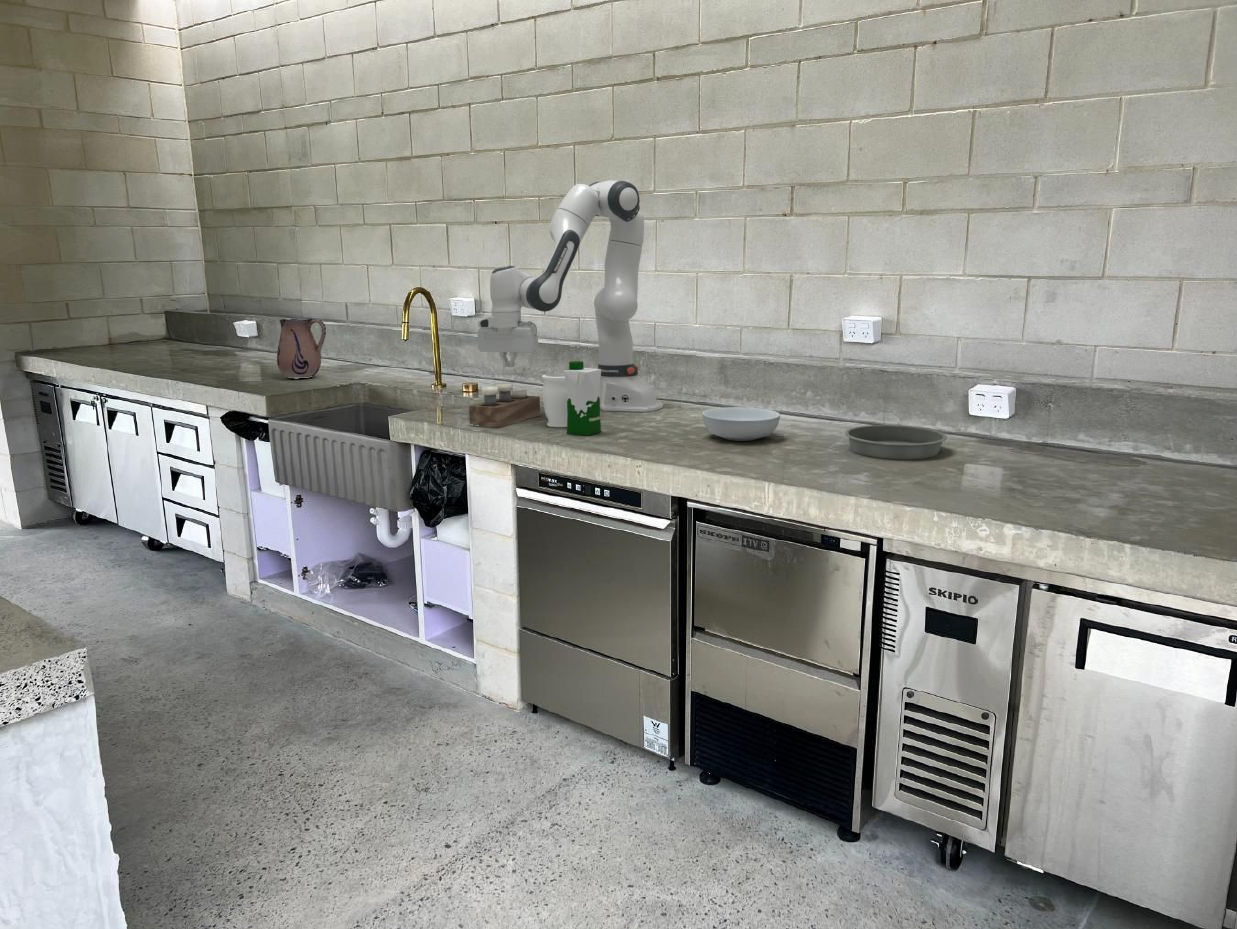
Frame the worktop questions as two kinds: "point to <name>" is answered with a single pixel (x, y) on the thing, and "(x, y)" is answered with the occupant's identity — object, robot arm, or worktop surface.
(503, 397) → the knob middle
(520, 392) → the knob
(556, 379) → the white cup
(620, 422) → the worktop surface
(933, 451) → the cake pan
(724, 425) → the serving bowl
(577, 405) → the milk carton
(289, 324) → the ceramic pitcher
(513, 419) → the knob mount
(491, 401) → the knob
